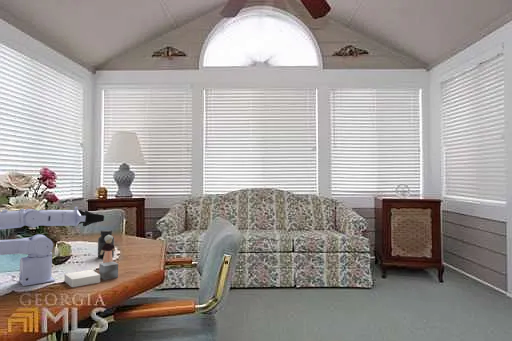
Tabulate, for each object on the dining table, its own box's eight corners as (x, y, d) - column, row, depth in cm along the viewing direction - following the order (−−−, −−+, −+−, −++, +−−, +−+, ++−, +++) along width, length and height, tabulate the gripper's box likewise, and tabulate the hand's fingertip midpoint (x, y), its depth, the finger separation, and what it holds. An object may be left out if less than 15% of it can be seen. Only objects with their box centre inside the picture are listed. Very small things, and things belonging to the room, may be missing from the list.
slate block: (103, 280, 126) (104, 266, 126) (99, 277, 130) (99, 263, 130) (118, 277, 129) (118, 263, 129) (112, 274, 133) (113, 261, 133)
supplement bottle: (116, 256, 163) (117, 230, 163) (103, 259, 157) (104, 232, 157) (107, 254, 167) (108, 229, 167) (94, 257, 161) (95, 230, 161)
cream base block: (71, 288, 117) (72, 279, 117) (64, 282, 124) (64, 273, 124) (100, 283, 123) (100, 274, 123) (91, 277, 130) (91, 269, 130)
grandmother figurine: (106, 268, 142) (107, 236, 142) (98, 267, 143) (98, 236, 143) (117, 263, 149) (118, 233, 150) (109, 263, 150) (110, 233, 150)
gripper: (66, 207, 123) (107, 207, 131) (57, 206, 134) (95, 206, 142) (65, 227, 122) (106, 226, 131) (56, 225, 133) (94, 224, 142)
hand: (100, 217), depth 137 cm, fingers open, 7 cm apart
